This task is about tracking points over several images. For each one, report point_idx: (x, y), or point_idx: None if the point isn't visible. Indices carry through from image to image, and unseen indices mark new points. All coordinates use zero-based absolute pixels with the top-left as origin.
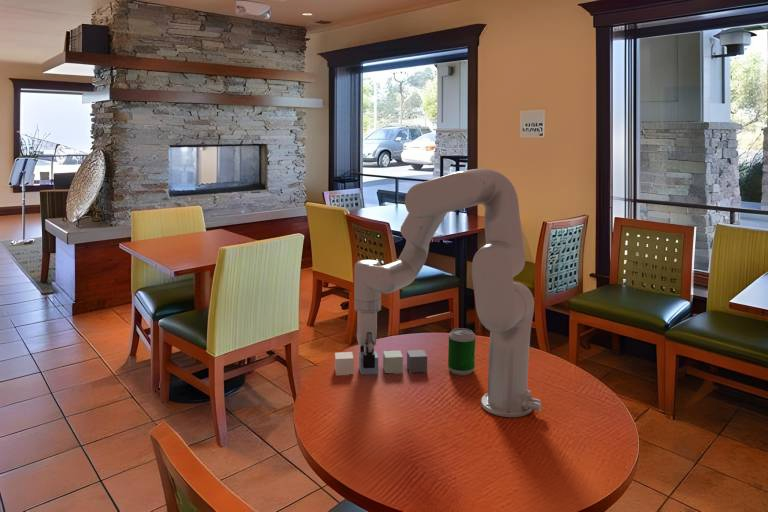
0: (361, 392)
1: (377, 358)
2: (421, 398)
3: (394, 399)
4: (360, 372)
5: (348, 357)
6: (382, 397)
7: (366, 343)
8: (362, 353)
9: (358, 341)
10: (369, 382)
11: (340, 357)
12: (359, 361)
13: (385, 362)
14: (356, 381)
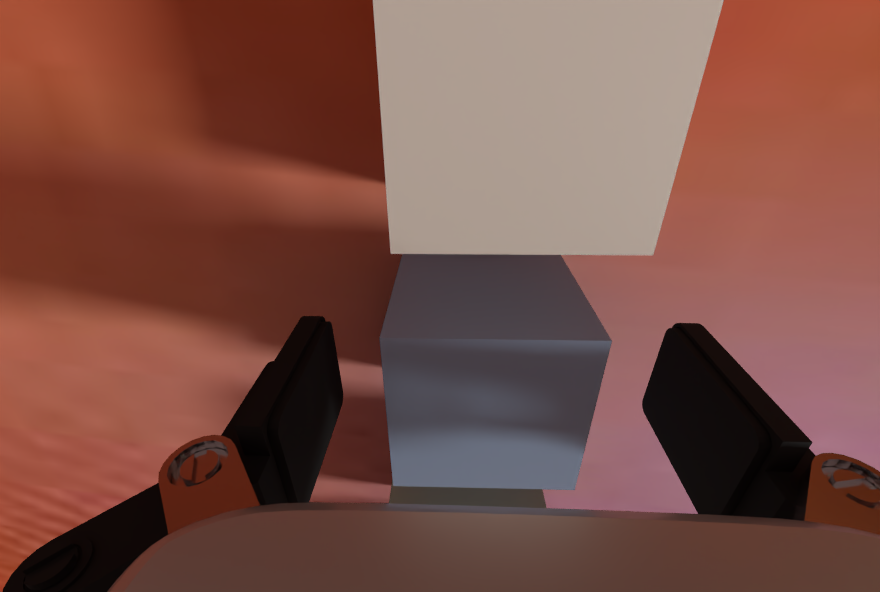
0: (48, 225)
1: (392, 473)
2: (84, 508)
3: (20, 407)
4: (424, 255)
5: (429, 183)
6: (20, 352)
7: (722, 485)
8: (545, 371)
9: (295, 586)
10: (250, 300)
11: (446, 31)
12: (538, 286)
13: (391, 486)
14: (259, 202)
